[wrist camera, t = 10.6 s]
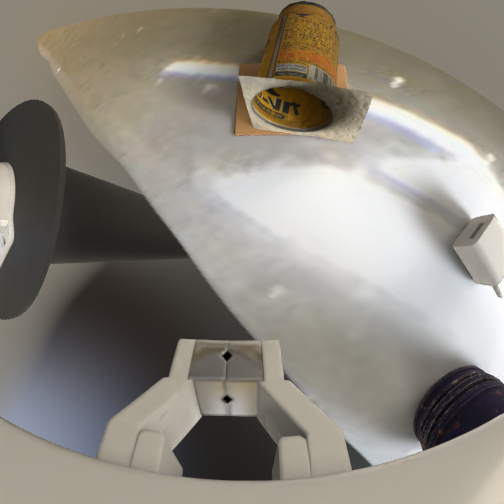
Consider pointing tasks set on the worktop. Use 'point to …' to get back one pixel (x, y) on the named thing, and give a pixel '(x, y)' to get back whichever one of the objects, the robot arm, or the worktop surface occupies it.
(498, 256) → the usb wall charger
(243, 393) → the robot arm
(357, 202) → the worktop surface
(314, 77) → the condiment
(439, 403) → the storage jar
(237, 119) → the copper flat rectangular plate
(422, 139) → the worktop surface
